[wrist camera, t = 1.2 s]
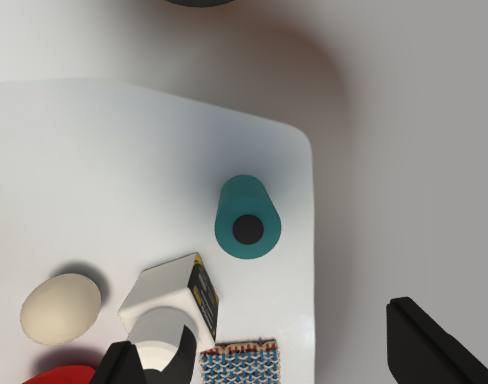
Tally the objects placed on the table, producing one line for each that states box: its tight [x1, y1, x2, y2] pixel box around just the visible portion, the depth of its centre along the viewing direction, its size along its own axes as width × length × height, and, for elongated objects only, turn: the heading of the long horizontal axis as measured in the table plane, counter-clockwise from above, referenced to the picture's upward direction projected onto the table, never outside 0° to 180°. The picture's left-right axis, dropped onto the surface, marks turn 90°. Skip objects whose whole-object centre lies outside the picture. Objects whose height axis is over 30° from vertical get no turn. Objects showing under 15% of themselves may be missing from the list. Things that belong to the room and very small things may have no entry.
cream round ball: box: [20, 273, 101, 345], centre depth 27 cm, size 7×7×7 cm
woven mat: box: [199, 341, 280, 384], centre depth 34 cm, size 10×11×2 cm
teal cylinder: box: [215, 175, 281, 259], centre depth 24 cm, size 5×5×9 cm
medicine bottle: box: [118, 253, 219, 384], centre depth 25 cm, size 7×7×12 cm
